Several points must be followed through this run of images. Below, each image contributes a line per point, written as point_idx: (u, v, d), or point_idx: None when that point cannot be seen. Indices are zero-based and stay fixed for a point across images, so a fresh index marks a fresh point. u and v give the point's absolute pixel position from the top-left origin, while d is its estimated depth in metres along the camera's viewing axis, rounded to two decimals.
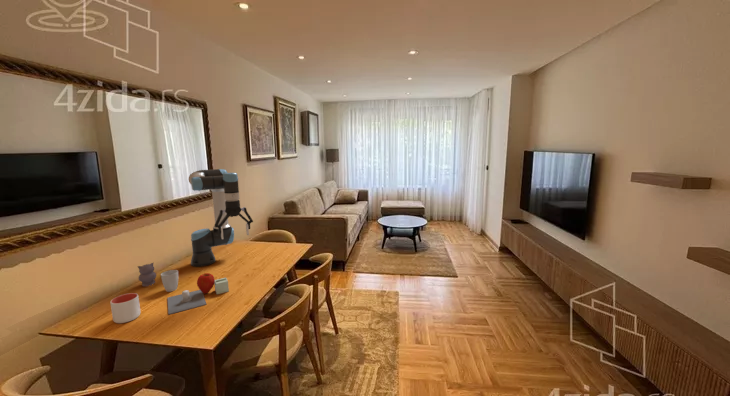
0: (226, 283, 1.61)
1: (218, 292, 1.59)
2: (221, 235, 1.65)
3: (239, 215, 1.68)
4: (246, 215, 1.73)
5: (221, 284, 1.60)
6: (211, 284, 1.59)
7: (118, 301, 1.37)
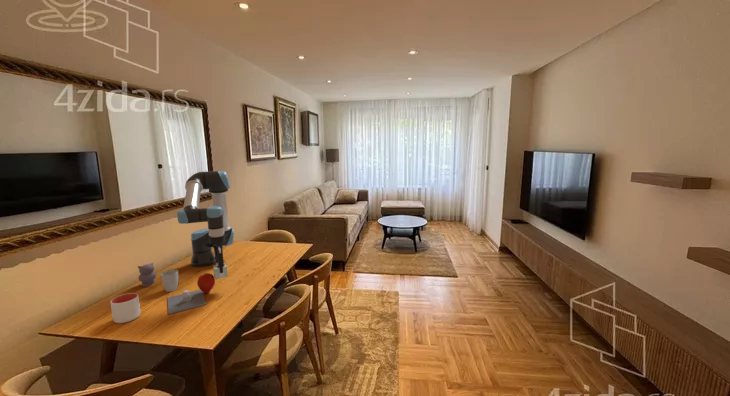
0: (225, 268, 1.60)
1: (217, 277, 1.59)
2: None
3: None
4: (222, 257, 1.57)
5: None
6: (211, 284, 1.59)
7: (118, 301, 1.37)
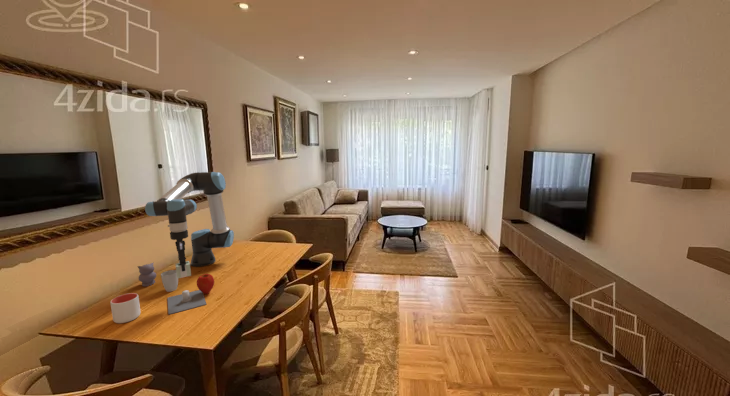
0: (188, 266, 1.48)
1: (179, 276, 1.46)
2: None
3: (177, 249, 1.45)
4: (184, 254, 1.44)
5: None
6: (211, 284, 1.58)
7: (118, 301, 1.37)
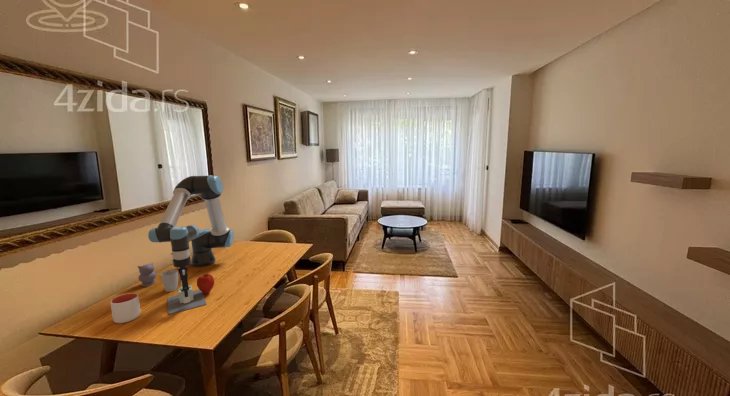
0: (190, 291, 1.50)
1: (181, 301, 1.48)
2: None
3: (180, 276, 1.46)
4: (187, 280, 1.45)
5: None
6: (211, 284, 1.58)
7: (118, 301, 1.37)
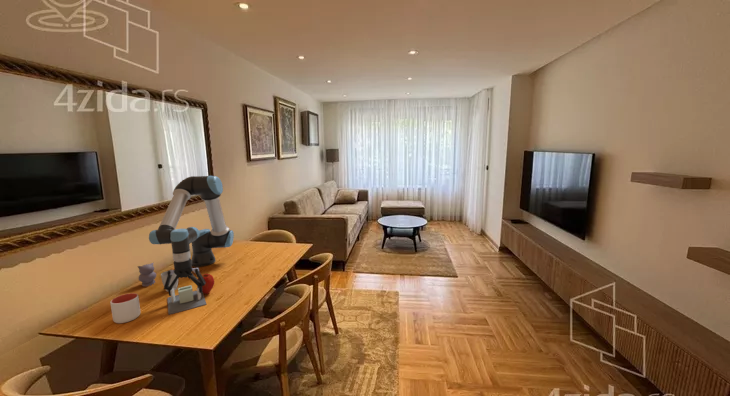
0: (190, 291, 1.50)
1: (181, 301, 1.48)
2: None
3: (188, 277, 1.49)
4: None
5: (185, 292, 1.48)
6: (211, 284, 1.58)
7: (118, 301, 1.37)
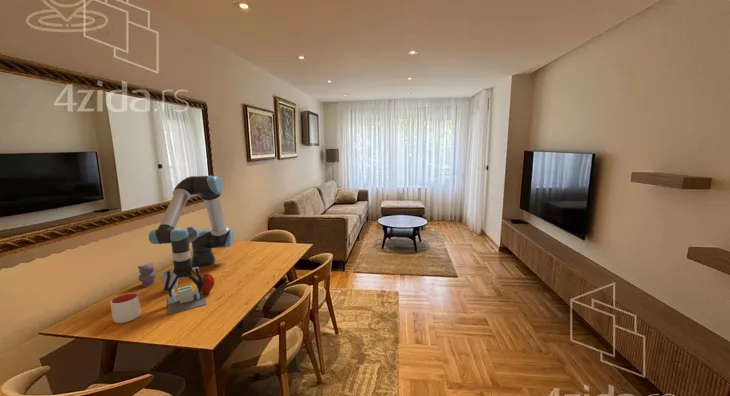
0: (190, 291, 1.50)
1: (181, 301, 1.48)
2: None
3: (188, 276, 1.49)
4: None
5: (185, 292, 1.48)
6: (211, 284, 1.58)
7: (118, 301, 1.37)
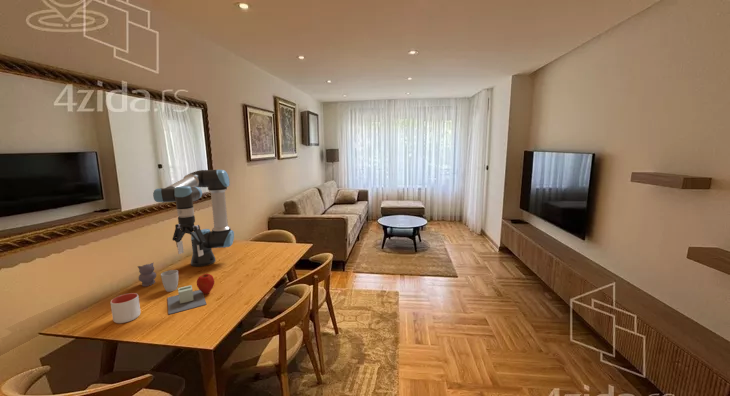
0: (190, 291, 1.50)
1: (181, 301, 1.48)
2: None
3: (189, 233, 1.53)
4: None
5: (185, 292, 1.48)
6: (211, 284, 1.58)
7: (118, 301, 1.37)
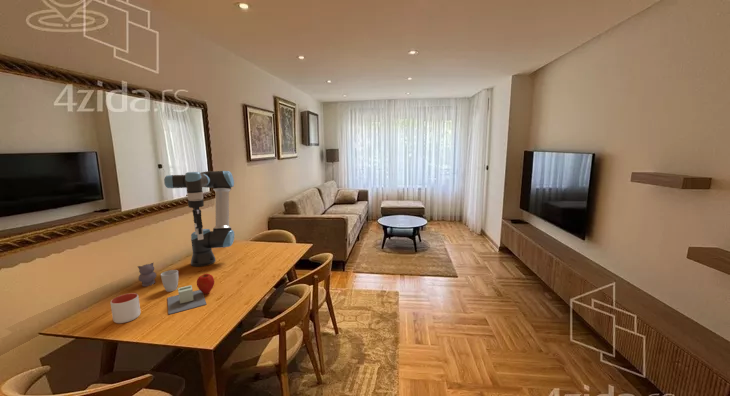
0: (190, 291, 1.50)
1: (181, 301, 1.48)
2: (197, 230, 1.72)
3: (194, 216, 1.62)
4: (201, 219, 1.60)
5: (185, 292, 1.48)
6: (211, 284, 1.58)
7: (118, 301, 1.37)
